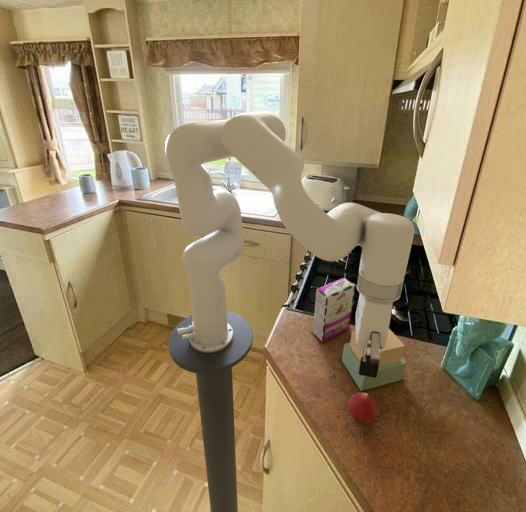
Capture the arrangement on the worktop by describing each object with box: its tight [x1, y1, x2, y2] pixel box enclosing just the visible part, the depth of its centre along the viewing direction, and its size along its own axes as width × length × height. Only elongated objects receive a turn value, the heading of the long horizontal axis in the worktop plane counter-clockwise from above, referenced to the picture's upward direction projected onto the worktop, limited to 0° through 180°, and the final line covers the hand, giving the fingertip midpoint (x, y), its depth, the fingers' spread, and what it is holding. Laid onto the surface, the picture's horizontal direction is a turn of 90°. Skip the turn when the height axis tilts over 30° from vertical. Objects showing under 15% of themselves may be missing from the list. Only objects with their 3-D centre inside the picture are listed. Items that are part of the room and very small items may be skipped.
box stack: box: [341, 328, 408, 392], centre depth 81 cm, size 12×10×11 cm
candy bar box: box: [312, 277, 356, 343], centre depth 92 cm, size 11×5×16 cm, turn 123°
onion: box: [348, 391, 377, 424], centre depth 69 cm, size 6×6×8 cm
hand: (366, 355), depth 62 cm, fingers open, 9 cm apart
